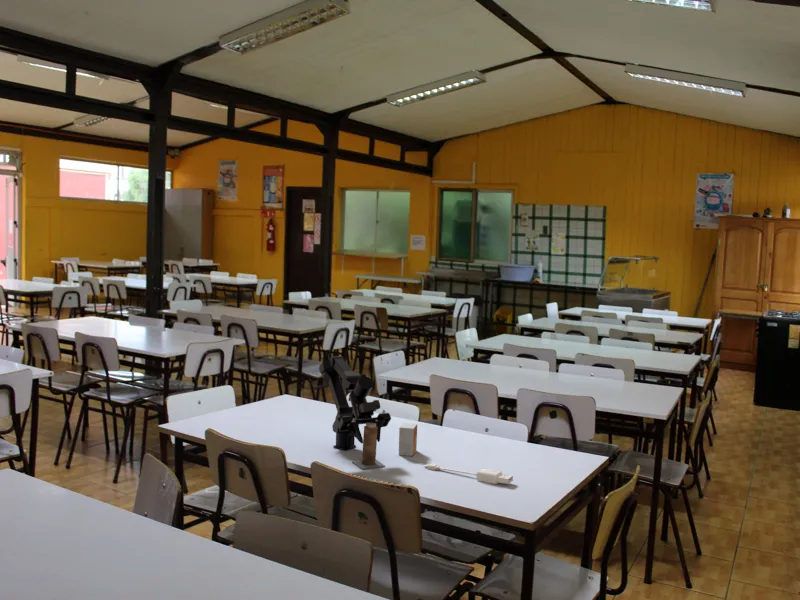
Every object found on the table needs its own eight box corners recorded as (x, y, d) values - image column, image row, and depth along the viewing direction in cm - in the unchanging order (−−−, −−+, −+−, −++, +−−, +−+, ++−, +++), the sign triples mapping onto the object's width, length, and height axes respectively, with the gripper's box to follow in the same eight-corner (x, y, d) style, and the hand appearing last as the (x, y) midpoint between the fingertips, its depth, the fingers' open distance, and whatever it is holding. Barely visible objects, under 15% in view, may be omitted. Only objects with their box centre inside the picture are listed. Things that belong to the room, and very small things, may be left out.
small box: (412, 456, 271) (413, 428, 270) (398, 455, 272) (399, 427, 271) (416, 450, 278) (417, 423, 278) (402, 449, 279) (403, 422, 279)
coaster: (352, 462, 261) (352, 461, 261) (375, 459, 265) (375, 458, 264) (361, 469, 253) (361, 468, 252) (385, 467, 256) (385, 465, 256)
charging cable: (428, 468, 260) (428, 459, 260) (513, 482, 243) (513, 473, 243) (421, 472, 256) (421, 462, 256) (507, 486, 239) (507, 476, 239)
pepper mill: (359, 463, 258) (361, 423, 257) (366, 460, 262) (369, 421, 261) (370, 465, 255) (372, 425, 255) (377, 463, 259) (380, 423, 259)
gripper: (341, 393, 256) (352, 432, 247) (389, 390, 264) (402, 428, 255) (333, 411, 264) (343, 448, 255) (380, 407, 272) (391, 444, 263)
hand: (370, 442), depth 257 cm, fingers open, 6 cm apart
